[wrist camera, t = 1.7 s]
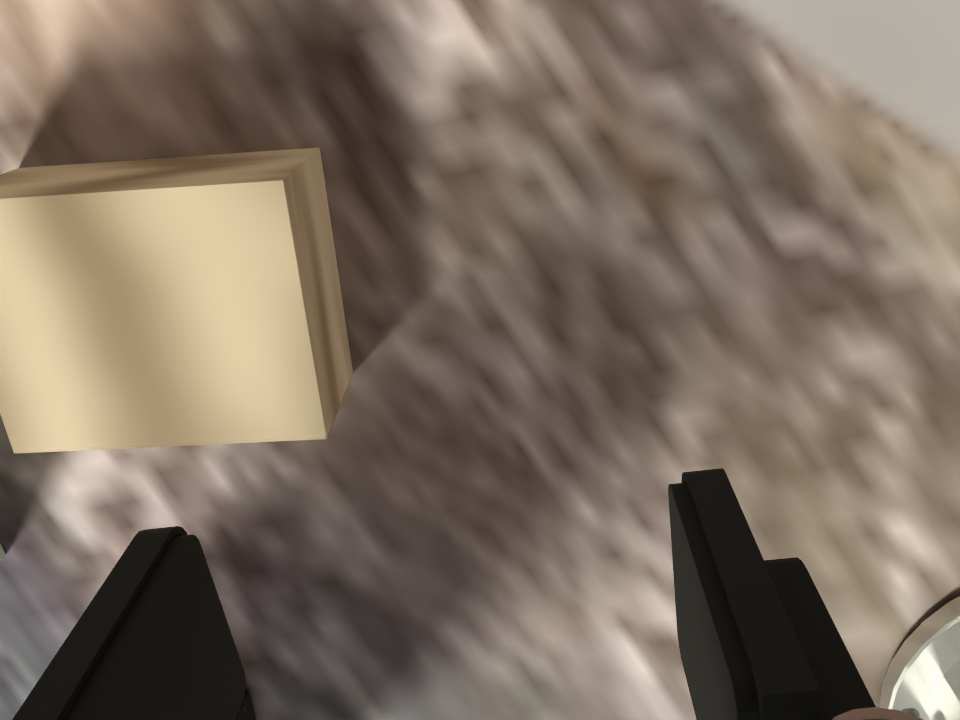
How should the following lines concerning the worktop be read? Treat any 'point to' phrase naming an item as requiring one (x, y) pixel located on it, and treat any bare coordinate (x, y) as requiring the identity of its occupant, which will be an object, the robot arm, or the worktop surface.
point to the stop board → (1, 553)
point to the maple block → (170, 303)
